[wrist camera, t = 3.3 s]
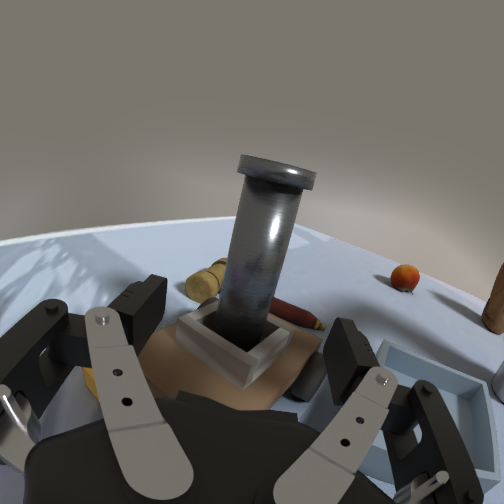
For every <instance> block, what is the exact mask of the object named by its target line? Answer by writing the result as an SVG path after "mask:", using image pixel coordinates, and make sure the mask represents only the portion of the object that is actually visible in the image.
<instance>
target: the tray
mask: <svg viewBox="0 0 504 504" xmlns="http://www.w3.org/2000/svg"><path fill="white" fill-rule="evenodd" d="M375 356H376V358H377V360H378V362H379V365H380V367H383V368H386V369H388V370H389V371H391V372H392V373H393V374H394V375H395V376H396V377H397V380H398V384H399V385H403V386H406V387H410V388H412V386H413V385H414V384H415V382H416V381H418V380H426V381H429V382H430V383H432V384H433V385H435V386H436V387H437V389H438V390H439V392H440V394H441V396H442V398H443V400H444V402H445V404H446V406H447V408H448V410H449V412H450V414H451V416H452V418H453V420H454V422H455V424H456V426H457V428H458V431H459V433H460V435H461V437H462V439H463V442H464V444H465V446H466V449H467V451H468V453H469V456H470V458H471V461H472V463H473V466H474V468H475V471H476V473H477V476H478V479H479V482H480V484H481V487H482V490H483V494H485V493H486V492H488V491H489V490H490V489H491V488H493V487H494V486H495V485H496V484H498V483H499V482H500V481H501V474H500V458H499V448H498V439H497V432H496V426H495V420H494V414H493V409H492V404H491V400H490V395H489V391H488V387H487V383H486V382H485V381H482V380H480V379H477V378H475V377H472V376H470V375H467V374H465V373H462V372H460V371H457V370H455V369H452V368H450V367H448V366H445V365H443V364H440V363H438V362H436V361H433V360H431V359H428V358H426V357H424V356H421V355H419V354H417V353H414V352H412V351H410V350H407V349H405V348H403V347H400V346H398V345H396V344H393V343H391V342H389V341H387V340H383V342H382V344H381V346H380V347H379V349H378V351H377V353H376V355H375ZM413 430H414V433H415V435H416V438H417V441H418V444H419V442H420V440H421V437H422V432H421V429H420V426H419V424H418V425H417V426H416V427H415V428H414V429H413ZM358 470H359V471H360V472H362V473H363V474H365V475H368V476H371V477H373V478H376V479H379V480H382V481H385V482H388V483H391V484H394V479H393V474H392V470H391V465H390V461H389V456H388V452H387V448H386V444H385V440H384V436H383V432H382V430H379V432H378V434H377V436H376V438H375V440H374V442H373V444H372V446H371V447H370V449H369V451H368V453H367V454H366V456H365V458H364V460H363V461H362V463H361V465H360V466H359V468H358ZM394 485H395V484H394Z"/></svg>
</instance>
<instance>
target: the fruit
mask: <svg viewBox="0 0 504 504" xmlns="http://www.w3.org/2000/svg"><path fill="white" fill-rule="evenodd" d="M419 279H420V275H419V271H418V270H417V269H416V268H415V267H413V266H411V265H400V266H398V267H397V268H395V269H394V270H393V272H392V275H391V282H392V285H393V286H394V287H395V288H396V289H399V290H401V291H402V292H404V291H409V292H411V293H412V291H413V290H414V288H415V287H416V285H417V284H418V282H419ZM412 294H413V293H412Z"/></svg>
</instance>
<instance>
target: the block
mask: <svg viewBox="0 0 504 504" xmlns="http://www.w3.org/2000/svg"><path fill="white" fill-rule="evenodd" d="M482 319H483V322H484V323H485V325H486V326H487V327H488V328H489V329H490V330H491V331H492V332H494V333H496V334H502V333H504V263H503V265H502V266H501V268H500V270H499V273H498V275H497V277H496V280H495V283H494V286H493V289H492V292H491V296H490V298H489V299H488V302H487V303H486V306H485V308H484V310H483V313H482Z"/></svg>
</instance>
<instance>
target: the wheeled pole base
mask: <svg viewBox="0 0 504 504" xmlns="http://www.w3.org/2000/svg"><path fill="white" fill-rule="evenodd" d="M218 301H219V299H217V298H216V297H211V298H208V299H207V300H205V301H204V302H203V303H202V304H201V305H200V306H199V307H198V308H197V310H195V311H193V312H190V313H188V314H186V315H183V316H181V317H179V318H178V319H177V323H175V324H173V325H170V326H168V327H166V328H163V329H161V330H159V331H156V332H154V333H153V334H152V335H151V337H150V338H149V340H148V341H147V343H146V345H145V346H144V348H143V349H142V351H141V352H140V354H139V356H138V357H137V358H138V361H139V364H140V366H141V369H142V371H143V374H144V376H145V379H146V381H147V384H148V386H149V389H150V391H151V393H152V395H153V398H154V399H156V398H164V397H172V398H176V397H177V395H178V392H179V390H181V391H185V392H188V393H192V394H196V395H200V396H204V397H208V398H210V399H212V400H215V401H217V402H219V403H222V404H224V405H226V406H229V407H231V408H233V409H236V410H269V409H270V408H271V407H272V406H273V405H274V404H275V403H276V401H277V400H278V399H279V398H280V397H281V396H282V395H283V394H284V392H285V391H286V390H287V389H288V388H289V387H290V386H291V384H292V383H293V382H294V381H295V380H296V381H295V383H294V385H293V387H292V390H291V394H293V395H295V396H297V397H299V398H301V399H302V400H304V401H306V402H309V401H310V400H311V399H312V397H313V396H314V394H315V393H316V391H317V390H318V388H319V386H320V385H321V383H322V381H323V380H324V378H325V376H326V374H327V370H326V366H325V362H324V358H323V354H321V353H319V352H318V349H319V347H320V345H321V342H322V340H323V339H321V338H319V337H317V336H315V335H313V334H311V333H308V332H306V331H304V330H302V329H300V328H298V327H296V326H294V325H292V324H290V323H288V322H286V321H284V320H282V319H280V318H278V317H276V316H275V315H273V314H271V313H269V314H268V317H267V321H266V324H265V327H264V330H263V334H262V337H261V340H260V343H259V344H258V345H257V346H255V347H254V348H253V349H251V350H250V351H249V352H245V351H243V350H242V349H240V348H238V347H237V346H235V345H234V344H232V343H230V342H229V341H227V340H225V339H224V338H222V337H221V336H219V335H218V334H216V333H214V332H213V327H214V321H215V316H216V311H217V306H218Z"/></svg>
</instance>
